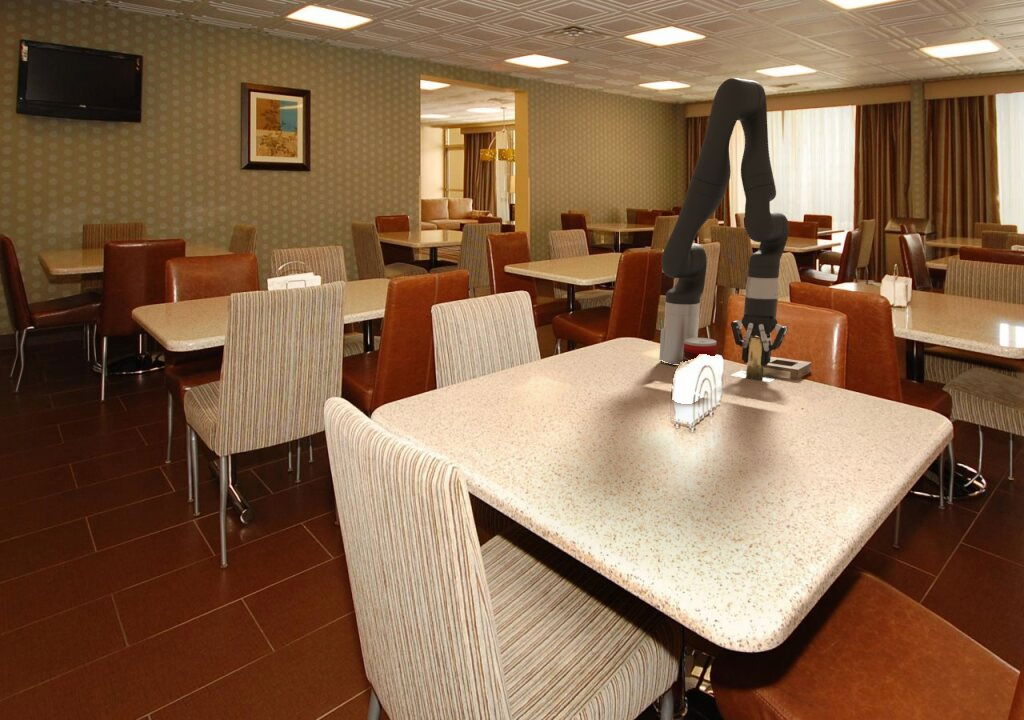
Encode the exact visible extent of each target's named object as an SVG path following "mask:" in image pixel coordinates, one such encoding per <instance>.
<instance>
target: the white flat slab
mask: <svg viewBox="0 0 1024 720" xmlns="http://www.w3.org/2000/svg"><path fill="white" fill-rule="evenodd" d="M729 377H735V378H739V379H740V378H741V379H747V380H751V381H759V382H765V383H771V382H774V381H775V380H777V379H778V378H780V377H777V376H771V375H764V374H763V377H762V378H750V377H747V376H746V371H744V370H739V371H737V372H734V373H732V374H730V375H729Z"/></svg>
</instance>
